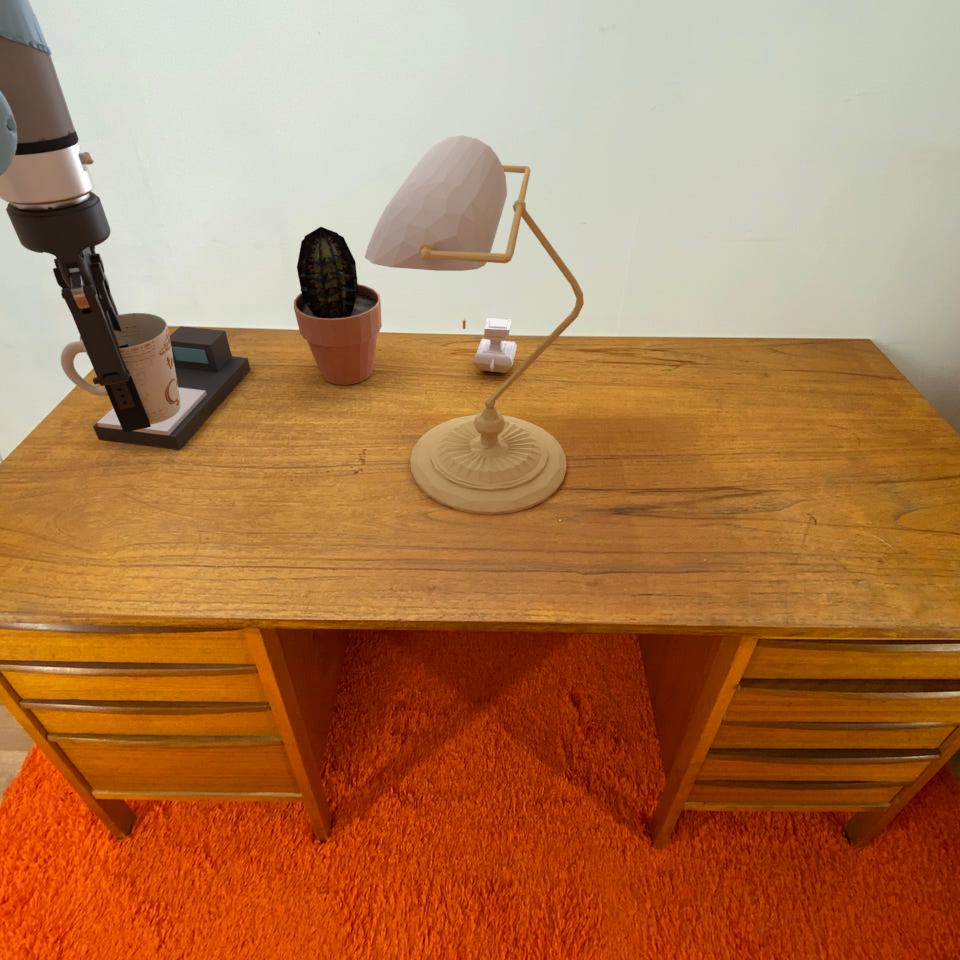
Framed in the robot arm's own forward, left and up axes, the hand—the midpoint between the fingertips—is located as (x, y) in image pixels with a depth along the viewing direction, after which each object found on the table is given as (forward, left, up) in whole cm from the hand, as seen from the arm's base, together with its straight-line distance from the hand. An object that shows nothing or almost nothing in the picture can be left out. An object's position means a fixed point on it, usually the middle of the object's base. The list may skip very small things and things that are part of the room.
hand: (135, 411), depth 72 cm
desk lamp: (+41, -7, -16) cm, 45 cm away
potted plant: (+30, +25, -16) cm, 42 cm away
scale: (+3, +27, -16) cm, 31 cm away
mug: (0, +1, -1) cm, 1 cm away
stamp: (+54, +16, -16) cm, 59 cm away
